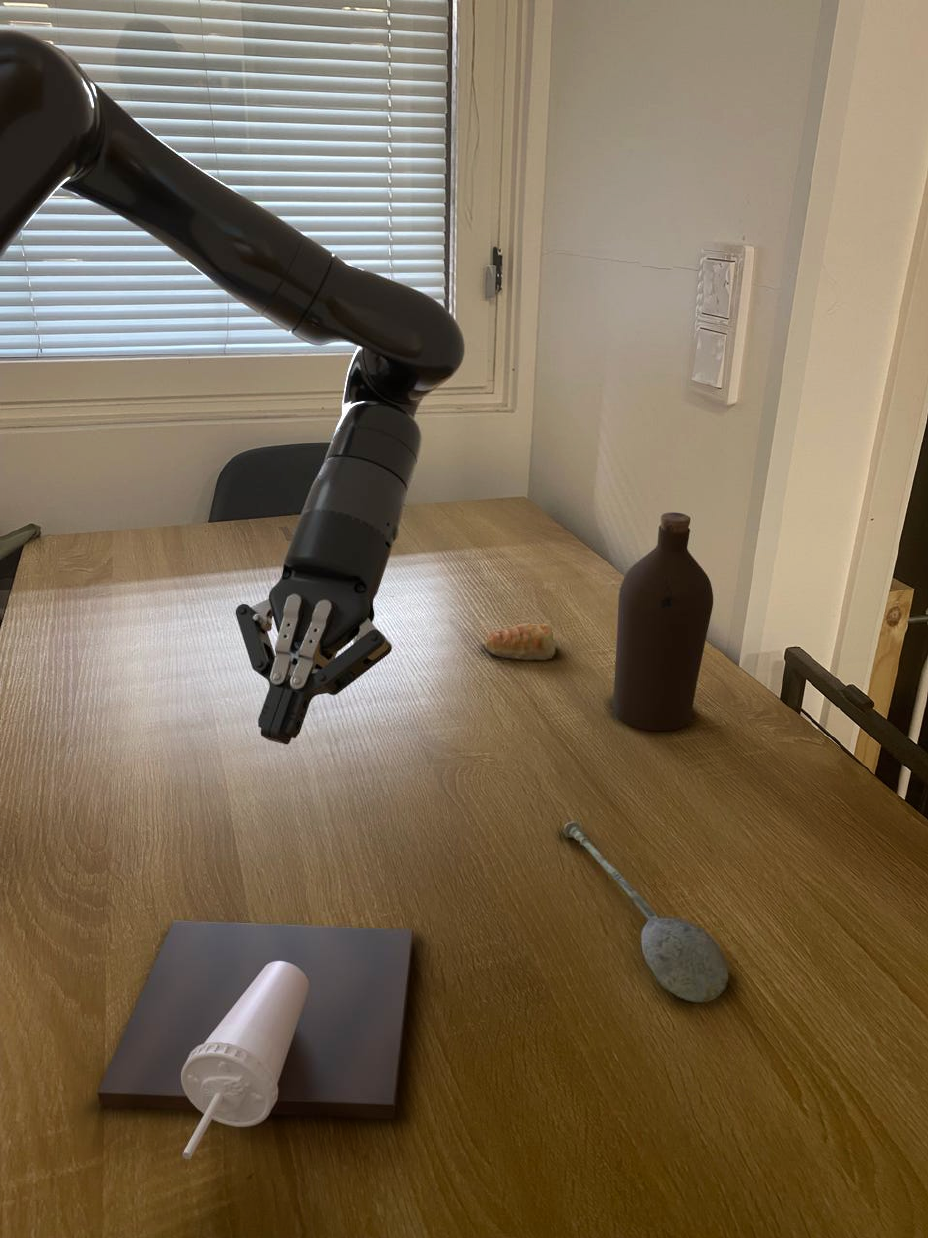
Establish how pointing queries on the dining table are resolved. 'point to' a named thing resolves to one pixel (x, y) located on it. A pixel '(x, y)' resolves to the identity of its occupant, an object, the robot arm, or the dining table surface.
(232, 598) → the dining table surface
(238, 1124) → the smoothie
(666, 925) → the soupspoon
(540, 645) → the pastry
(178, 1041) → the board
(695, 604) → the olive oil
